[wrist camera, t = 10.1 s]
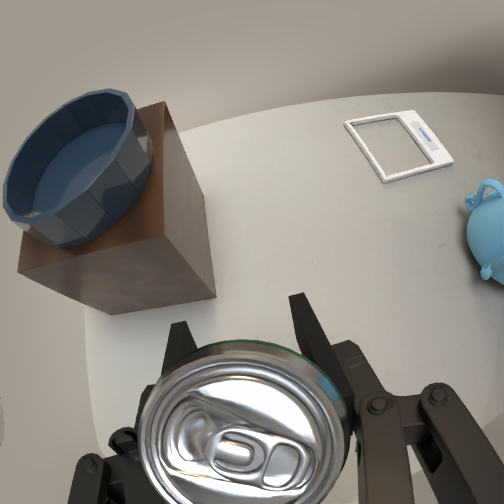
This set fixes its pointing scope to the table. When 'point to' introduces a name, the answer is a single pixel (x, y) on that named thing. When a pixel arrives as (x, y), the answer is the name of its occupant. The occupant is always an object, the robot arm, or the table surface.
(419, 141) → the photo frame
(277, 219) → the table surface
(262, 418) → the soda can
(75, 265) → the stand
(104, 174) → the bowl
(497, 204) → the decorative pot
